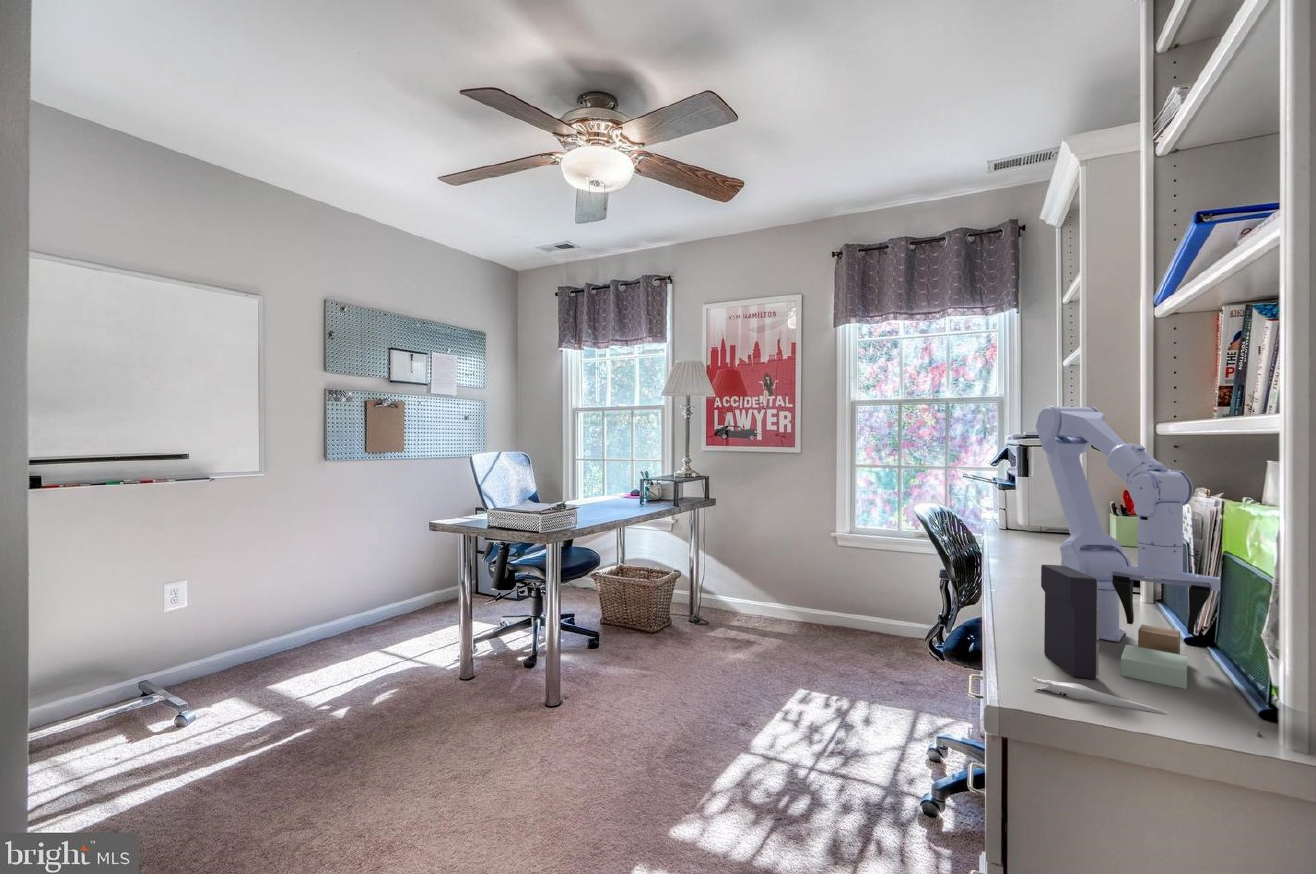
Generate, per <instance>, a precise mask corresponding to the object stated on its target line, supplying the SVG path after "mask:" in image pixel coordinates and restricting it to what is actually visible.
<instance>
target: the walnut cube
mask: <svg viewBox="0 0 1316 874" xmlns="http://www.w3.org/2000/svg"><path fill="white" fill-rule="evenodd" d="M1137 635H1138V637H1137V638H1138V639H1137V641H1138V643H1137V644H1138V645H1137V647H1142V648H1148V649H1153V650H1159V651H1165V652H1170V653H1176V654H1181V630H1178V629H1173V628H1172V629H1171V628H1165V627H1159V626H1154V625H1149V624H1140V627H1139V628H1138V632H1137Z"/></svg>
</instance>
